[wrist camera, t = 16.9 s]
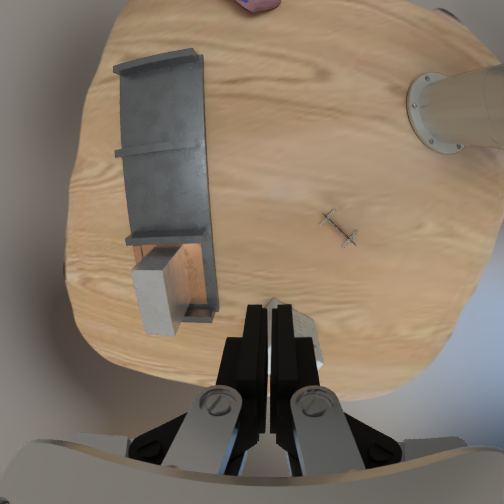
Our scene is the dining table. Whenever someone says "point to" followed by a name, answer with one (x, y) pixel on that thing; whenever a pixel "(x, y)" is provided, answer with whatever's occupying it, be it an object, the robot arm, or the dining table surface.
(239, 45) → the dining table surface
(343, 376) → the dining table surface
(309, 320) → the small box
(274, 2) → the video game controller
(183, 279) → the panel
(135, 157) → the slot rack
